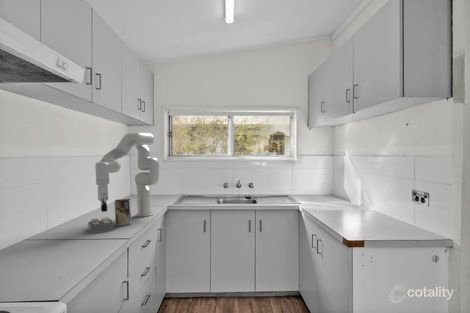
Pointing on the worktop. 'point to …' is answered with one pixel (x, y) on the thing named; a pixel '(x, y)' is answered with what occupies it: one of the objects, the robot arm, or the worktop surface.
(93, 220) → the key slate
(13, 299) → the worktop surface
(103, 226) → the keyguard
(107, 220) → the key ivory
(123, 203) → the coffee box
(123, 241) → the worktop surface
